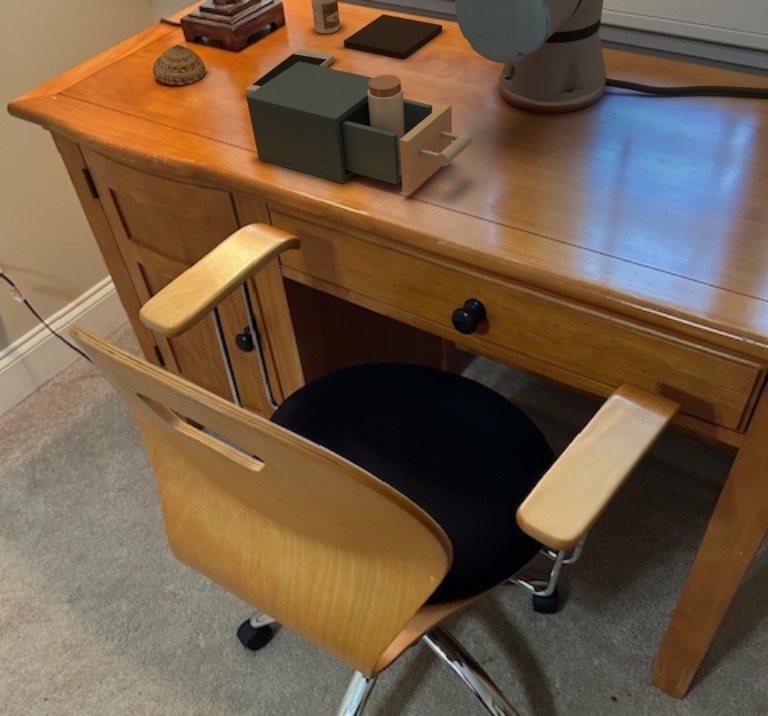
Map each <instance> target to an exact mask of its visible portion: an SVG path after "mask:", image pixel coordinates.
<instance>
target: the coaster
mask: <svg viewBox="0 0 768 716" xmlns="http://www.w3.org/2000/svg"><path fill="white" fill-rule="evenodd" d="M441 33H443V24H439V23H433V22H428V21H422V20H417V19H411V18H405V17H400V16H394V15H390V14H384V13H383V14H381V15H380V16H378V17H376V18H375V19H373V20H372V21H371V22H369V23H368V24H366V25H365V26H363V27H361V28H360V29H359V30H357V31H356V32H354V33H353V34H351V35H349V36H348V37H347V38H345V39H344V40H343V47H344V48H346V49H347V48H348V49H351V50H352V49H353V50H358V51H363V52H367V53H372V54H377V55H380V56H385V57H390V58H396V59H399V60H400V59H401V60H405V59H407V58H409V56H411V55H412V54H414V53H415V52H416V51H418V50H419V49H420V48H422V47H423V46H424V45H426V44H427V43H429V42H430V41H431V40H433V39H434V38H435V37H437V36H438V35H439V34H441Z"/></svg>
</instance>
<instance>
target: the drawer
mask: <svg viewBox="0 0 768 716" xmlns="http://www.w3.org/2000/svg"><path fill="white" fill-rule="evenodd" d="M403 103H404V124H405V136H403V137H402V138H401V139H400V154H401V161H400V162H399V159H398V141H397V133H393V132H389V131H385V130H381V129H377V128H373V127H370V116H369V104H368V102H366V103H365V104H364V105H362V106H361V107H360V108H358V109H357V110H356V111H354V112H353V113H352V114H350V115H349V116H348V117H346V118H345V119H344V120H343V121H341V122H340V129H341V138H342V147H343V156H344V164H345V170H347V171H350V172H354V173H356V174H357V175H361V176H365V177H369V178H371V179H376V180H378V181H383V182H386V183H390V184H393V185H398V184H399V183H400V182H401V189H402V193H405V194H408V195H411V194H412V193H413V192H415V190H416V189H418V188H419V187H420V186H421V185H422V184H424V182H425V181H427V180H428V179H429V178H430V177H431V176H432V175H434V174H435V172H437V171H438V170H439V169H440V168H441V167H447V166H448V165H449V164H450V163H451V162H452V161H454V159H456V158H457V157H458V156H459V155H461V153H462V152H463V151H464V150H466V149H467V148H469V146H470V145H471V144H472V142H473V136H472V134H471V133H470V132H468V131H463V132H462V133H461V134H456V133H452V131H453V130H452V129H453V128H452V127H453V126H452V124H453V122H452V120H453V119H452V118H453V117H452V114H453V113H452V112H453V111H452V110H453V109H452V104H449V103H444V102H443V103H442V104H441V105H440V106H438V108H435V110H434V111H433V105H432V104H429V103H424V102H419V101H415V100H411V99H407V98H403Z"/></svg>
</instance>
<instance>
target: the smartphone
mask: <svg viewBox="0 0 768 716" xmlns="http://www.w3.org/2000/svg"><path fill="white" fill-rule="evenodd" d="M299 61H300V62H304V63H309V64H313V65H318V66H322V67H327V68H328V66H330V65H331V64H332V63H334V61H335V55H334V54H333V53H327V52H319V51H314V50H307V49H302V48H298V49H296V50H294V51H293V52H292V53H290V54H289V55H288V56H287V57H286V58H284V59H283V60H281V61H280V62H279V63H278V64H276V65H274V67H272V68H271V69H270V70H268V71H267V72H265V73H264V74H263V75H262V76H260V77H258V78H257V79H256V80H255V81H253V82H252V83H251V84H249V85H248V86H247V87H246V88H245V90H246V94H247V95H249V94H250V93H252V92H254V91H255V90H257V89H258V88H260V87H261V86H263V85H264V84H266V83H267V82H269V81H270V80H272V79H273V78H275V77H276V76H278V75H279V74H281V73H282V72H284V71H285V70H287V69H288V68H290V67H291V66H293V65H294V64H296V63H297V62H299Z"/></svg>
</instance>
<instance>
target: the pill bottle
mask: <svg viewBox="0 0 768 716" xmlns="http://www.w3.org/2000/svg"><path fill="white" fill-rule="evenodd" d="M310 1H311V7H312V15H313V24H314V30H315V32H316V33H318V34H332V33H335V32H337V31H338V30H339V29H340V28H341V23H340V12H339V11H340V10H339V2H338V1H339V0H310Z"/></svg>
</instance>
